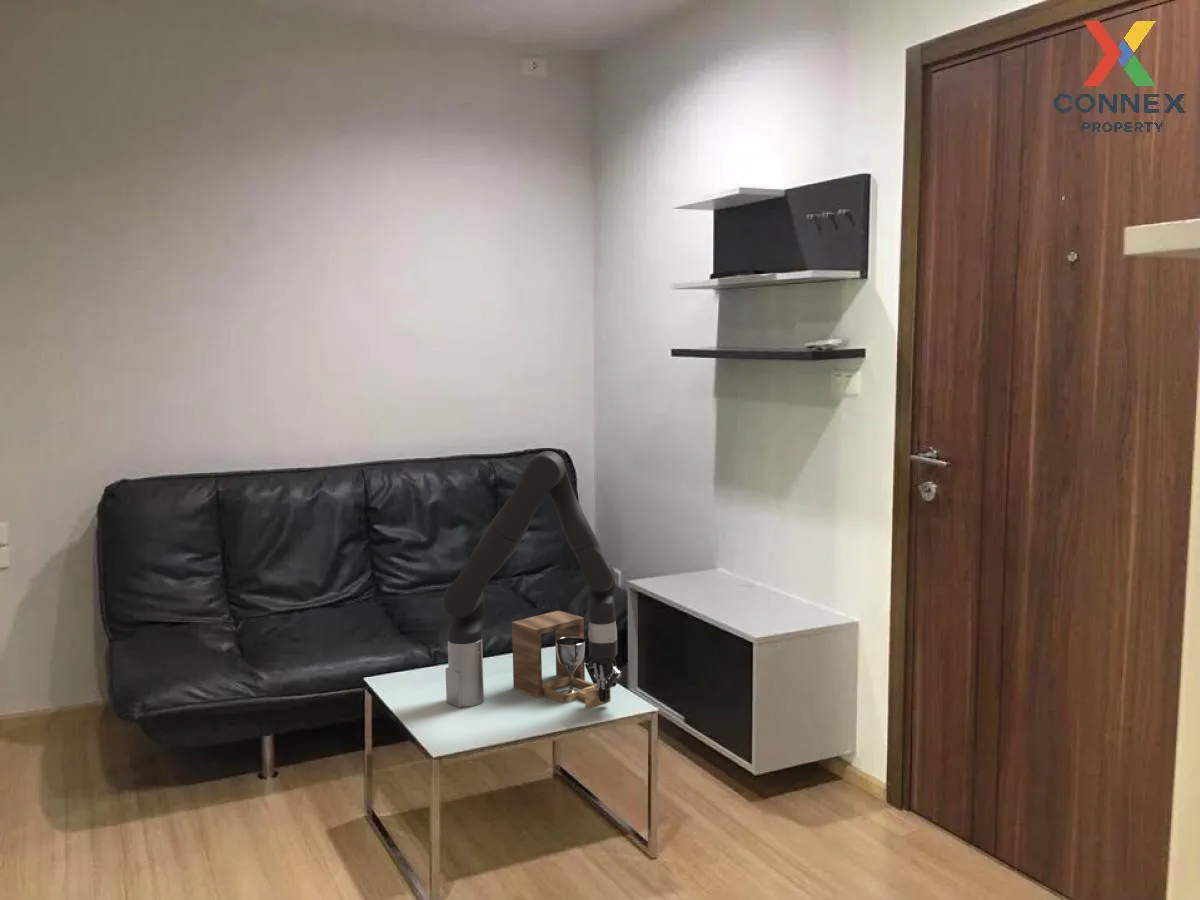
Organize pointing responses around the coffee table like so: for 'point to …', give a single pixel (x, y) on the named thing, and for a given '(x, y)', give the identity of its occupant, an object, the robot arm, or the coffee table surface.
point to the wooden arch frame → (529, 648)
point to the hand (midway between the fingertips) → (604, 701)
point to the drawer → (586, 694)
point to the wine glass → (570, 656)
